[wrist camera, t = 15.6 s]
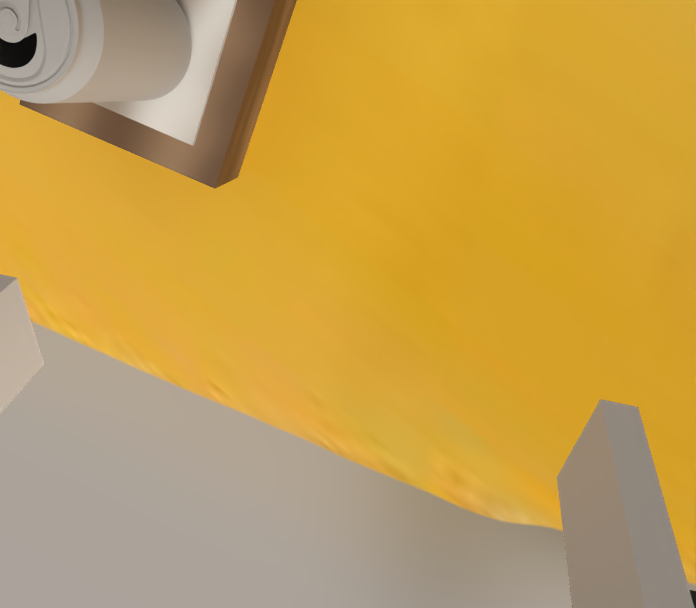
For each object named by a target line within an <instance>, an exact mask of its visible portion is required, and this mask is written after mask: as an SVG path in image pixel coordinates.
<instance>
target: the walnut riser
mask: <svg viewBox="0 0 696 608" xmlns="http://www.w3.org/2000/svg"><path fill="white" fill-rule="evenodd" d="M176 1H177V3H178V4H179V6H180V7H181V9H182V11H183V13H184V15H185V17H186V19H187V22H188V25H189V29H190V33H191V40H192V53H191V60H190V64H189V67H188V70H187V72H186V74H185V76H184V78H183V79H182V81H181V82H180V83H179V85H178V86H177V87H176V88H175V89H173V90H172V91H171V92H170V93H168V94H166V95H165V96H163V97H160V98H157V99H154V100H147V101H117V102H83V103H49V104H42V103H32V102H27V101H23V100H20V105H22V106H25V107H27V108H29V109H32V110H34V111H36V112H39V113H41V114H43V115H46V116H48V117H50V118H52V119H55V120H57V121H59V122H62V123H64V124H66V125H69V126H71V127H73V128H76V129H78V130H80V131H83V132H85V133H87V134H90V135H92V136H94V137H97V138H99V139H101V140H104V141H106V142H108V143H111V144H113V145H115V146H117V147H120V148H122V149H124V150H127V151H129V152H131V153H134V154H136V155H138V156H141V157H143V158H145V159H148V160H150V161H152V162H155V163H157V164H159V165H162V166H164V167H166V168H169V169H171V170H173V171H175V172H178V173H180V174H182V175H185V176H187V177H189V178H192V179H194V180H196V181H199V182H201V183H203V184H206V185H208V186H210V187H213V188H217V187H219V186H221V185H223V184H225V183H227V182H229V181H231V180H233V179H235V178H237V177H238V175H239V172H240V169H241V166H242V163H243V160H244V157H245V154H246V151H247V148H248V145H249V142H250V139H251V136H252V133H253V130H254V127H255V124H256V121H257V118H258V115H259V112H260V109H261V106H262V103H263V100H264V97H265V94H266V91H267V88H268V85H269V82H270V79H271V76H272V73H273V70H274V67H275V64H276V61H277V58H278V55H279V52H280V49H281V46H282V43H283V40H284V37H285V34H286V31H287V28H288V25H289V22H290V19H291V16H292V13H293V10H294V6H295V3H296V0H176Z"/></svg>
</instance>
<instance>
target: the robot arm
mask: <svg viewBox="0 0 696 608" xmlns="http://www.w3.org/2000/svg"><path fill="white" fill-rule="evenodd" d="M43 365H44V361H43V359H42V355H41V352H40V349H39V345H38V342H37V339H36V336H35V333H34V330H33V326H32V323H31V320H30V317H29V314H28V310H27V307H26V304H25V301H24V298H23V295H22V291H21V288H20V285H19V282H18V279H17V278H15V277H10V276H6V275H1V274H0V414H1V412H2V411H3V410H4V409H5V408H6V407H7V406H8V405H9V403H10V402H11V401H12V400H13V399H14V398H15V397H16V395H17V394H18V393H19V392H20V391H21V390H22V389H23V388H24V387H25V385H26V384H27V383H28V382H29V381H30V380H31V379H32V378H33V376H34V375H35V374H36V373H37V372H38V371H39V369H40V368H41V367H42V366H43ZM557 482H558V490H559V499H560V507H561V516H562V524H563V533H564V541H565V550H566V559H567V567H568V575H569V584H570V592H571V601H572V608H696V591H692V590H689V587H688V583H687V580H686V576H685V573H684V569H683V566H682V562H681V558H680V555H679V551H678V548H677V544H676V541H675V537H674V534H673V530H672V526H671V523H670V519H669V516H668V512H667V509H666V505H665V502H664V498H663V495H662V491H661V487H660V484H659V480H658V477H657V473H656V470H655V466H654V463H653V459H652V455H651V452H650V448H649V445H648V441H647V438H646V434H645V431H644V427H643V423H642V420H641V416H640V413H639V409H638V407H634V406H630V405H625V404H620V403H615V402H610V401H606V400H600V401H599V403H598V405H597V407H596V408H595V410H594V412H593V414H592V416H591V417H590V419H589V421H588V423H587V425H586V426H585V428H584V430H583V432H582V434H581V435H580V437H579V439H578V441H577V442H576V444H575V446H574V448H573V450H572V451H571V453H570V455H569V457H568V459H567V460H566V462H565V464H564V466H563V468H562V469H561V471H560V473H559V475H558V476H557Z"/></svg>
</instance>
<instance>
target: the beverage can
mask: <svg viewBox="0 0 696 608" xmlns="http://www.w3.org/2000/svg"><path fill="white" fill-rule="evenodd" d="M191 53H192V40H191V33H190V29H189V25H188V22H187V19H186V17H185V15H184V13H183V11H182V9H181V7H180V6H179V4H178V3H177V1H176V0H0V90H1V91H3V92H5V93H7V94H9V95H11V96H13V97H15V98H17V99H20V100H23V101H27V102H32V103H42V104H49V103H83V102H117V101H147V100H154V99H157V98H160V97H163V96H165V95H166V94H168V93H170V92H171V91H172V90H173V89H175V88H176V87H177V86H178V85H179V83H180V82H181V81H182V79H183V78H184V76H185V74H186V72H187V70H188V67H189V64H190V60H191Z"/></svg>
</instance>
